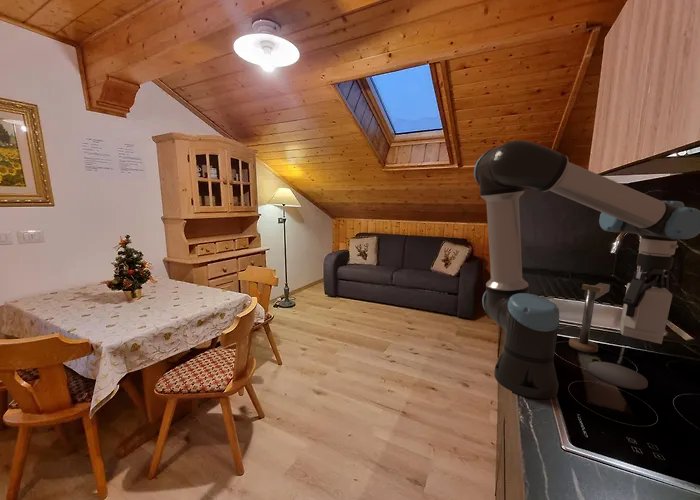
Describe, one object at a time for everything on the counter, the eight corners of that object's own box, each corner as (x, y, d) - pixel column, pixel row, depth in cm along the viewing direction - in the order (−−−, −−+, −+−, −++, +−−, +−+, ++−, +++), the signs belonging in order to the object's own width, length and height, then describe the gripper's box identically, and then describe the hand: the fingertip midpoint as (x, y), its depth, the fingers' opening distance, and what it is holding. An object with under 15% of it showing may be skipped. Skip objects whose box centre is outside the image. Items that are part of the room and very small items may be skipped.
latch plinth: (588, 354, 100) (588, 350, 100) (563, 343, 107) (563, 339, 107) (603, 350, 103) (604, 346, 103) (578, 340, 110) (578, 336, 110)
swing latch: (591, 346, 102) (600, 288, 99) (573, 340, 106) (581, 284, 103) (606, 333, 113) (614, 280, 110) (589, 328, 117) (597, 277, 114)
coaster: (630, 393, 80) (630, 391, 79) (577, 368, 91) (578, 366, 91) (658, 383, 84) (658, 381, 84) (604, 360, 96) (605, 358, 96)
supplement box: (662, 345, 87) (673, 294, 85) (621, 335, 93) (630, 287, 90) (657, 334, 94) (667, 287, 92) (618, 326, 100) (627, 282, 97)
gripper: (648, 257, 82) (633, 334, 85) (694, 255, 91) (679, 324, 94) (615, 253, 88) (602, 324, 92) (661, 251, 97) (648, 315, 101)
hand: (641, 324), depth 93 cm, fingers closed on supplement box, 12 cm apart
